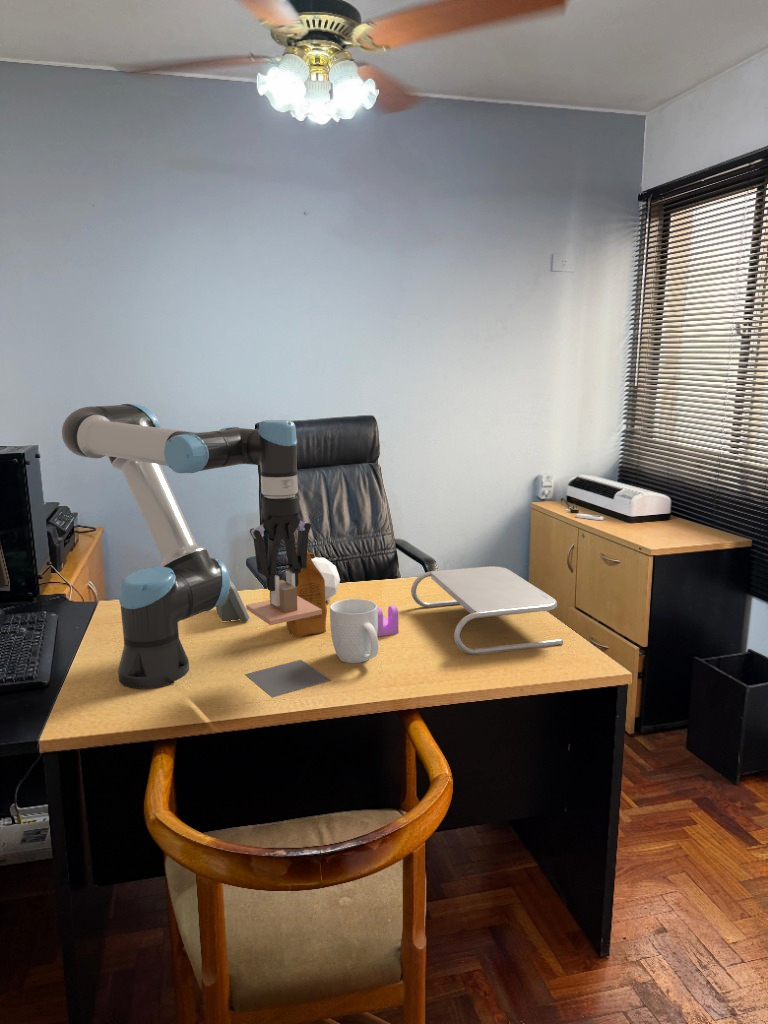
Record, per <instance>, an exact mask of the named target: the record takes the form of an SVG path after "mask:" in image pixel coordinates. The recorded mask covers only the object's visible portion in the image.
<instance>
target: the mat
mask: <svg viewBox="0 0 768 1024" xmlns="http://www.w3.org/2000/svg"><path fill="white" fill-rule="evenodd" d="M244 675H245V676H246V678H248V679H249V680H251V681H252V682H253V683H254V684H255V685H257V686H258V687H259V688H260V689H262V691H264V692H265V693H266V694H267V695H269V696H270V697H271V698H276V697H279V696H282V695H287V694H289V693H292V692H296V691H300V690H303V689H307V688H310V687H314V686H317V685H321V684H325V683H328V682H331V681H332V680H331V679H330V678H328V677H327V676H326V675H324V674H323V673H321V672H320V671H318V670H317V669H316V668H315V667H312V666H311V665H310V664H308V663H306V661H303V660H302V659H298V660H294V661H290V662H287V663H283V664H279V665H275V666H271V667H267V668H264V669H260V670H255V671H253V672H252V671H251V672H248V673H244Z"/></svg>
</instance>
